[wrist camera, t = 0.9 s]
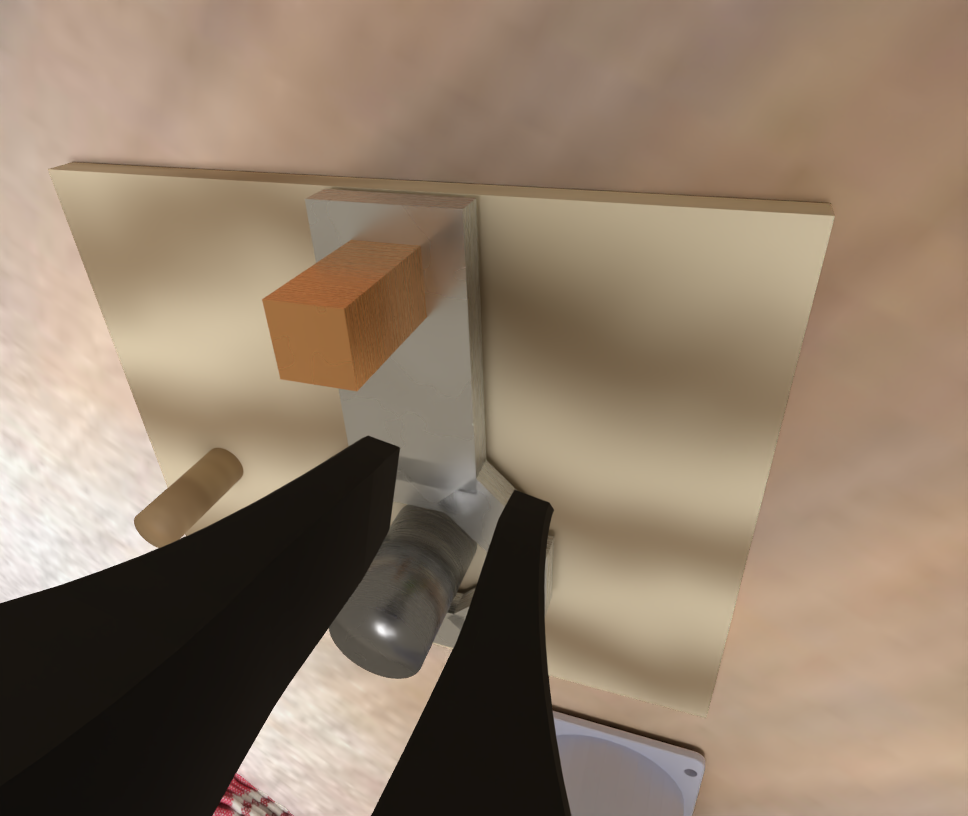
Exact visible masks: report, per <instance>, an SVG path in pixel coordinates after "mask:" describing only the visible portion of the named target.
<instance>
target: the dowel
mask: <svg viewBox="0 0 968 816" xmlns="http://www.w3.org/2000/svg"><path fill="white" fill-rule="evenodd" d="M242 476H243V467H242V464H241V463H240V461H239V460H238V458H237V457H236V456H235V455H234V454H232V453H231V452H229V451H228V450H226V449H223V448H213V449H211V450H210V451H209V452H208V453H207V454H206V455H205V456H204V457H202V458H201V459H200V460H199V461H198V462H197V463H196V464H194V465H193V466H192V467H191V468H190V469H189V470H188V471H187V472H185V473H184V474H183V475H182V476H181V477H180V478H179V479H177V480H176V481H175V482H174V483H173V484H172V485H171V486H170V487H168V488H167V489H166V490H165V491H164V492H163V493H162V494H161V495H159V496H158V497H157V498H156V499H155V500H154V501H153V502H151V503H150V504H149V505H148V506H147V507H146V508H145V509H144V510H142V511H141V512H140V513H139V514H138V515H137V516H136V517H135V519H134V524H135V527H136V529H137V531H138V532H139V534H140V535H141V536H142V537H143V538H144V539H145V540H146V541H147V542H149V543H150V544H152V545H153V546H155V547H158V548H160V547H163V546H165V545H168V544H170V543H172V542H174V541H177V540H179V539H180V538H181V537H182V536H183V535H184V534H185V533H186V532H187V531H188V530H189V529H190V528H191V527H192V526H193V525H194V524H195V523H196V522H197V521H198V520H199V519H200V518H201V517H202V516H203V515H204V514H205V513H206V512H207V511H208V510H209V509H210V508H211V507H212V506H213V505H214V504H215V503H216V502H217V501H218V500H219V499H220V498H221V497H222V496H223V495H224V494H225V493H226V492H228V491H229V490H230V489H231V488H232V487H233V486H234V485H235V484H236V483H237V482H238V481H239V480H240V479H241V478H242Z"/></svg>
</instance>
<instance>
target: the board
mask: <svg viewBox="0 0 968 816" xmlns="http://www.w3.org/2000/svg"><path fill="white" fill-rule="evenodd" d="M48 171H49V174H50V177H51V179H52V182H53V185H54V187H55V190H56V193H57V195H58V198H59V200H60V203H61V206H62V208H63V211H64V214H65V216H66V219H67V222H68V224H69V227H70V230H71V232H72V235H73V238H74V240H75V243H76V246H77V248H78V251H79V253H80V256H81V259H82V261H83V264H84V267H85V269H86V272H87V275H88V277H89V280H90V283H91V285H92V288H93V291H94V293H95V296H96V299H97V301H98V304H99V306H100V309H101V312H102V314H103V317H104V320H105V322H106V325H107V328H108V330H109V333H110V336H111V338H112V341H113V344H114V346H115V349H116V352H117V354H118V357H119V360H120V362H121V365H122V367H123V370H124V373H125V375H126V378H127V381H128V383H129V386H130V389H131V391H132V394H133V397H134V399H135V402H136V405H137V407H138V410H139V413H140V415H141V418H142V420H143V423H144V426H145V428H146V431H147V434H148V436H149V439H150V442H151V444H152V447H153V450H154V452H155V455H156V458H157V460H158V463H159V466H160V468H161V471H162V473H163V476H164V479H165V481H166V484H167V487H170V486H171V485H172V484H173V483H174V482H175V481H176V480H177V479H179V478H180V477H181V476H182V475H183V474H184V473H185V472H187V471H188V470H189V469H190V468H191V467H192V466H193V465H194V464H196V463H197V462H198V461H199V460H200V459H201V458H202V457H204V456H205V455H206V454H207V453H208V452H209V451H210V450H211V449H213V448H223V449H226V450H228V451H229V452H231V453H232V454H234V455H235V456H236V457H237V458H238V460H239V461H240V463H241V464H242V467H243V476H242V478H241V479H240V480H239V481H238V482H237V483H236V484H235V485H234V486H233V487H232V488H231V489H230V490H229V491H228V492H226V493H225V494H224V495H223V496H222V497H221V498H220V499H219V500H218V501H217V502H216V503H215V504H214V505H213V506H212V507H211V508H210V509H209V510H208V511H207V512H206V513H205V514H204V515H203V516H202V517H201V518H200V519H199V520H198V521H197V522H196V523H195V524H194V525H193V526H192V527H191V528H190V529H189V530H188V531H187V532H186V533H185V534H186V536H188V535H190V534H192V533H194V532H196V531H198V530H201V529H203V528H205V527H207V526H209V525H211V524H213V523H215V522H217V521H219V520H221V519H223V518H225V517H227V516H229V515H230V514H232V513H234V512H236V511H238V510H240V509H242V508H244V507H246V506H248V505H250V504H252V503H254V502H256V501H257V500H259V499H261V498H263V497H265V496H266V495H268V494H270V493H272V492H273V491H275V490H277V489H279V488H280V487H282V486H284V485H286V484H287V483H289V482H291V481H293V480H294V479H296V478H298V477H300V476H301V475H303V474H305V473H306V472H308V471H310V470H311V469H313V468H314V467H316V466H318V465H319V464H321V463H323V462H324V461H326V460H328V459H329V458H331V457H332V456H334V455H336V454H337V453H339V452H340V451H342V450H344V449H345V448H347V447H348V440H347V434H346V429H345V423H344V417H343V412H342V406H341V401H340V395H339V389H338V388H332V387H326V386H320V385H313V384H307V383H301V382H294V381H288V380H282V379H280V375H279V371H278V367H277V362H276V358H275V354H274V349H273V345H272V341H271V337H270V332H269V328H268V324H267V319H266V315H265V311H264V306H263V302H262V299H263V298H265V297H266V296H268V295H269V294H271V293H272V292H274V291H275V290H277V289H278V288H280V287H281V286H283V285H284V284H286V283H287V282H289V281H290V280H292V279H293V278H295V277H296V276H298V275H299V274H301V273H302V272H304V271H305V270H307V269H308V268H310V267H311V266H313V265H314V264H316V260H315V254H314V249H313V243H312V238H311V232H310V226H309V221H308V215H307V209H306V204H305V198H307V197H309V196H311V195H313V194H315V193H317V192H319V191H321V190H323V189H335V190H351V191H368V192H384V193H401V194H417V195H433V196H450V197H466V198H476V201H477V227H478V253H479V279H480V305H481V331H482V357H483V383H484V409H485V435H486V460H487V461H488V462H489V463H490V464H491V465H492V466H493V467H494V468H495V469H496V470H497V471H498V472H499V473H500V474H501V475H502V476H503V477H504V478H505V479H506V480H507V481H508V482H509V483H510V484H511V485H512V486H513V487H514V488H515V489H516V490H517V491H520V492H523V493H525V494H528V495H531V496H533V497H536V498H539V499H542V500H544V501H547V502H550V504H551V506H552V507H553V509H554V512H553V515H552V518H551V522H550V527H549V533H548V535H549V536H554V556H553V585H552V598H551V601H550V604H549V607H548V610H547V614H546V617H545V635H546V651H547V664H548V675H549V676H552V677H555V678H559V679H563V680H566V681H570V682H574V683H577V684H581V685H585V686H588V687H592V688H596V689H599V690H603V691H607V692H611V693H614V694H618V695H622V696H625V697H629V698H633V699H636V700H640V701H644V702H647V703H651V704H655V705H658V706H662V707H666V708H669V709H673V710H677V711H680V712H684V713H688V714H691V715H695V716H699V717H702V718H707V714H708V710H709V706H710V702H711V698H712V694H713V690H714V686H715V682H716V678H717V675H718V671H719V667H720V663H721V659H722V655H723V651H724V647H725V643H726V639H727V636H728V632H729V628H730V624H731V620H732V616H733V612H734V608H735V604H736V600H737V596H738V593H739V589H740V585H741V581H742V577H743V573H744V569H745V565H746V561H747V557H748V553H749V550H750V546H751V542H752V538H753V534H754V530H755V526H756V522H757V518H758V514H759V510H760V507H761V503H762V499H763V495H764V491H765V487H766V483H767V479H768V475H769V471H770V467H771V464H772V460H773V456H774V452H775V448H776V444H777V440H778V436H779V432H780V428H781V425H782V421H783V417H784V413H785V409H786V405H787V401H788V397H789V393H790V389H791V385H792V382H793V378H794V374H795V370H796V366H797V362H798V358H799V354H800V350H801V346H802V342H803V339H804V335H805V331H806V327H807V323H808V319H809V315H810V311H811V307H812V303H813V299H814V296H815V292H816V288H817V284H818V280H819V276H820V272H821V268H822V264H823V260H824V256H825V253H826V249H827V245H828V241H829V237H830V233H831V229H832V225H833V221H834V217H835V215H834V212H833V209H832V206H831V203H814V202H796V201H778V200H759V199H741V198H722V197H704V196H686V195H667V194H649V193H630V192H612V191H594V190H575V189H557V188H538V187H520V186H502V185H483V184H465V183H446V182H428V181H410V180H391V179H373V178H354V177H336V176H318V175H299V174H281V173H262V172H244V171H226V170H207V169H189V168H170V167H152V166H134V165H115V164H97V163H78V162H72V163H68V164H65V165H61V166H58V167H54V168H51V169H48ZM406 505H408V504H403V503H399V502H394V501H393V506H392V514H391V522H390V526H391V524H392V522H393V521H394V519H395V518H396V516H397V515H398V513H399V512H400V510H401V509H402V508H403V507H404V506H406ZM486 555H487V552H486V551H485V550H484V549H483V548H482V547H481V546H480V545H479V544H478V543H477V550H476V553H475V555H474V557H473V560H472V562H471V564H470V566H469V568H468V570H467V572H466V574H465V576H464V578H463V581H462V583H461V585H460V587H459V589H458V591H457V593H461V594H464V593H466V592H468V591H470V590H472V589H474V588H475V587H476V585H477V582H478V579H479V576H480V573H481V570H482V567H483V564H484V561H485V558H486ZM432 644H434V645H438V646H441V647H445V648H449V649H452V650H453V648H452V647H448V646H444V645H441V644H437V643H432Z"/></svg>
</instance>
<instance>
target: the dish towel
mask: <svg viewBox="0 0 968 816" xmlns="http://www.w3.org/2000/svg"><path fill="white" fill-rule="evenodd" d="M213 816H294V815H292V814H291V813H290V812H289V811H288V810H287V809H286V808H285V807H283V806H282V805H280V804H279V803H277V802H275V801H273V800H272V799H271V798H270V797H269V796H268V795H266V794H265V793H263V792H262V791H260V790H258V789H256V788H255V787H253V786H252V785H251V784H250V783H249V782H247V781H246V780H245V779H244V778H242V777H241V776H240V775H238V774H237V773H236V774H235V776H234V778H233V780H232V781H231V783H230V785H229V787H228V789H227V790H226V792H225V794H224V796H223V798H222V799H221V801H220V803H219V805H218V807H217V808H216V810H215V812H214V814H213Z"/></svg>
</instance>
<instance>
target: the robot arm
mask: <svg viewBox="0 0 968 816" xmlns="http://www.w3.org/2000/svg"><path fill="white" fill-rule="evenodd" d="M399 453H400V447H398V446H395V445H393V444H390V443H387V442H385V441H382V440H379V439H376V438H374V437H371V436H366V437H363V438H361V439H360V440H358V441H356V442H355V443H353V444H352V445H350V446H348V447H347V448H345V449H344V450H342V451H340V452H339V453H337V454H336V455H334V456H332V457H331V458H329V459H328V460H326V461H324V462H323V463H321V464H319V465H318V466H316V467H314V468H313V469H311V470H310V471H308V472H306V473H305V474H303V475H301V476H300V477H298V478H296V479H294V480H293V481H291V482H289V483H287V484H286V485H284V486H282V487H280V488H279V489H277V490H275V491H273V492H272V493H270V494H268V495H266V496H265V497H263V498H261V499H259V500H257V501H256V502H254V503H252V504H250V505H248V506H246V507H244V508H242V509H240V510H238V511H236V512H234V513H232V514H230V515H229V516H227V517H225V518H223V519H221V520H219V521H217V522H215V523H213V524H211V525H209V526H207V527H205V528H203V529H201V530H198V531H196V532H194V533H192V534H190V535H188V536H186V537H183V538H181V539H179V540H177V541H174V542H172V543H170V544H168V545H165V546H163V547H160V548H158V549H156V550H153V551H151V552H149V553H146V554H144V555H141V556H139V557H136V558H134V559H131V560H128V561H126V562H123V563H121V564H118V565H115V566H113V567H110V568H107V569H105V570H102V571H99V572H96V573H94V574H91V575H88V576H85V577H82V578H79V579H77V580H74V581H71V582H68V583H65V584H62V585H59V586H56V587H53V588H50V589H46V590H43V591H40V592H36V593H33V594H30V595H26V596H23V597H20V598H17V599H13V600H10V601H7V602H3V603H0V816H213V814H214V812H215V810H216V808H217V807H218V805H219V803H220V801H221V799H222V798H223V796H224V794H225V792H226V790H227V789H228V787H229V785H230V783H231V781H232V780H233V778H234V776H235V774H236V772H237V771H238V769H239V767H240V765H241V763H242V762H243V760H244V758H245V756H246V755H247V753H248V751H249V749H250V748H251V746H252V744H253V742H254V741H255V739H256V737H257V735H258V734H259V732H260V730H261V729H262V727H263V725H264V723H265V722H266V720H267V718H268V716H269V715H270V713H271V711H272V709H273V708H274V706H275V705H276V703H277V702H278V700H279V699H280V697H281V695H282V694H283V692H284V691H285V689H286V688H287V686H288V685H289V683H290V682H291V680H292V679H293V678H294V676H295V675H296V673H297V672H298V671H299V669H300V668H301V666H302V665H303V663H304V662H305V661H306V659H307V658H308V656H309V655H310V654H311V652H312V651H313V649H314V648H315V646H316V645H317V644H318V642H319V641H320V639H321V638H322V637H323V635H324V634H325V632H326V631H327V630H328V628H329V627H330V625H331V624H332V622H333V621H334V620H335V618H336V617H337V615H338V614H339V613H340V611H341V610H342V608H343V607H344V605H345V604H346V603H347V601H348V600H349V598H350V597H351V595H352V594H353V593H354V591H355V590H356V588H357V587H358V585H359V584H360V582H361V581H362V579H363V578H364V576H365V574H366V572H367V571H368V569H369V567H370V565H371V563H372V562H373V560H374V558H375V556H376V554H377V552H378V550H379V548H380V547H381V545H382V543H383V541H384V539H385V537H386V535H387V533H388V531H389V529H390V522H391V514H392V506H393V499H394V491H395V483H396V476H397V468H398V460H399ZM553 512H554V509H553V507H552V506H551V504H550V502H547V501H544V500H542V499H539V498H536V497H533V496H531V495H528V494H525V493H523V492H520V491H517V490H514V491H513V493H512V495H511V496H510V498H509V500H508V502H507V504H506V505H505V507H504V509H503V511H502V513H501V515H500V517H499V519H498V522H497V525H496V528H495V531H494V534H493V537H492V540H491V543H490V546H489V549H488V552H487V555H486V558H485V561H484V564H483V567H482V570H481V573H480V576H479V579H478V582H477V585H476V588H475V591H474V594H473V597H472V600H471V603H470V606H469V609H468V612H467V615H466V618H465V621H464V623H463V626H462V629H461V631H460V634H459V636H458V639H457V641H456V644H455V646H454V648H453V650H452V652H451V654H450V656H449V658H448V660H447V663H446V665H445V667H444V669H443V671H442V673H441V675H440V677H439V679H438V681H437V684H436V686H435V688H434V690H433V692H432V694H431V696H430V698H429V700H428V702H427V704H426V706H425V708H424V710H423V713H422V715H421V717H420V719H419V721H418V723H417V725H416V727H415V729H414V731H413V733H412V735H411V737H410V739H409V741H408V743H407V745H406V747H405V749H404V751H403V753H402V755H401V757H400V759H399V761H398V763H397V765H396V767H395V769H394V771H393V773H392V775H391V777H390V779H389V781H388V783H387V785H386V787H385V789H384V791H383V793H382V795H381V797H380V799H379V801H378V803H377V805H376V807H375V809H374V811H373V813H372V815H371V816H692V815H693V811H694V807H695V804H696V800H697V796H698V793H699V789H700V785H701V782H702V778H703V774H704V771H705V758H704V757H703V756H702V755H701V754H699V753H698V752H695V751H692V750H688V749H685V748H681V747H678V746H674V745H671V744H667V743H664V742H660V741H657V740H653V739H650V738H647V737H643V736H640V735H636V734H633V733H629V732H626V731H622V730H619V729H615V728H612V727H608V726H605V725H601V724H598V723H594V722H591V721H587V720H584V719H580V718H577V717H573V716H570V715H566V714H563V713H559V712H556V711H553V710H552V703H551V694H550V685H549V675H548V664H547V651H546V635H545V593H544V583H545V561H546V548H547V539H548V533H549V527H550V522H551V518H552V515H553Z"/></svg>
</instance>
